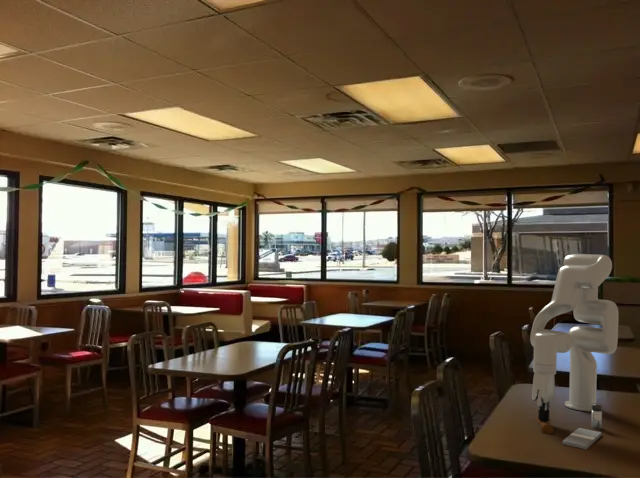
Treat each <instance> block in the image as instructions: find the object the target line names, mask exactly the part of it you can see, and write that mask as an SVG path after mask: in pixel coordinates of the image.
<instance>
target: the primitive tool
mask: <svg viewBox="0 0 640 478" xmlns="http://www.w3.org/2000/svg"><path fill="white" fill-rule="evenodd" d="M535 420H536V421H537V423H538V424H539V426H540V427H541V432H542V433H544V434H553V433H554V428H553V427H552V425H550V422H551V419H550V418H549V421H548V422H545V421H540V420H539V419H538V417H535Z"/></svg>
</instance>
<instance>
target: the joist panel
mask: <svg viewBox="0 0 640 478" xmlns="http://www.w3.org/2000/svg"><path fill="white" fill-rule="evenodd" d="M601 436H602V432H601V431H597V430H596V431H595V430H591V429H588V428H583V427H578V428H577V429H575V430H574V431H573V432H571V433H570V435H568V436H567V437H565V438H564V439H563V440H562V445H564V446H565V445H566V446H570V447H575V448H577V447H578V449H581V450H587V449H589V448H590V447H591V446H592V445H593V444H594V443H595V442H596V441H597V440H598V439H599V438H601Z"/></svg>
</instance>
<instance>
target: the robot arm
mask: <svg viewBox="0 0 640 478" xmlns="http://www.w3.org/2000/svg"><path fill="white" fill-rule="evenodd" d="M612 269H613V262H612V260H611V258H610V256H608V255H606V254H592V253H591V254H588V253H587V254H586V253H572V254H568V255H566V256H565V257H564V258H563V266H561V267H559V269H558V271H557V274H556V275H557V276H556V279H555V282H554V288H553V290H552V291H553V292H552V296H551V301H550V302H549V303H548V304H547V305H545V306H544V307H543V308H542V309H541V310H540V311H539V312H538V313H537V315H536V316H535V318H534V320H533V323H532V327H531V331H530V335H529V337H530V339H529V341H530V344H531V346H532V347H533V362H532V363H533V364H532V365H533V367H532V368H533V370H532V371H533V373H534V374H533V378H532V390H531V391H532V392H531V399H532V401H533V402H536V401H537V402H536V403H537V404H536V405H537V409H538V417H537V418H538V419H539V420H540V421H545V422H548V421H549V419H550V407H551V401H552V400H553V399H554V398H555V384H556V383H555V375H556V374H557V357H558V356H557V354H558V353H559V354H560V353H561V354H566V353H568V352H569V392H568V393H569V395H568V396H569V397H568V398H569V399H568V400H566V401H564V405H565V406H566V407H567V408H568V409H572V410H576V411H581V412H592V403H597V379H598V376H597V375H598V373H597V371H598V370H597V368H598V367H597V366H598V365H597V364H598V363H597V360H596V358H595V357H594V355H593V354H592V353H597V354H602V355H603V354H605V355H613V354H614V353H615V352H616V351H617V347H618V342H619V341H618V339H619V319H620V318H619V316H620V315H619V308H618V306H617V304H616V303H615V302H614V301H612V300H608V299H599V286H601V284H602V283H603V282H604V281H605V280H606V279H607V278H608V277H609V276H610V274H611V272H612ZM569 312H573V314H572V315H573V318H574V319H575V320H576V321H577V322H580V323H583V324H584V323H585V324H586V323H587V324H592V325H593V324H594V325H600V326H601V327H594V326H585V325H575V326H572V327H571V328H570V329H569V331H568V332H565V331H561V330H553V329H545V327H546V326H547V323H549V321H550V320H552V319H553V318H554V317H557V316H560V315H563V314H566V313H569Z"/></svg>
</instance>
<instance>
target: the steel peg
mask: <svg viewBox="0 0 640 478" xmlns="http://www.w3.org/2000/svg"><path fill="white" fill-rule="evenodd" d="M602 420H603V405H602V404H600V403H597V402H596V403H592V411H591V420H590V421H591V423H590V424H591V425H590V426H591V428H592V429H595V430H602V428H603V427H602V426H603V425H602V423H603V421H602Z"/></svg>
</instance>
